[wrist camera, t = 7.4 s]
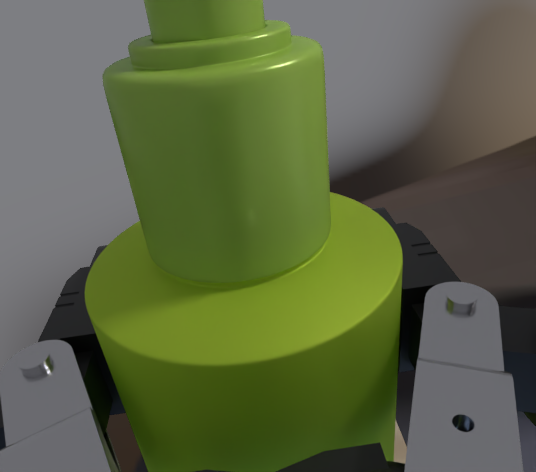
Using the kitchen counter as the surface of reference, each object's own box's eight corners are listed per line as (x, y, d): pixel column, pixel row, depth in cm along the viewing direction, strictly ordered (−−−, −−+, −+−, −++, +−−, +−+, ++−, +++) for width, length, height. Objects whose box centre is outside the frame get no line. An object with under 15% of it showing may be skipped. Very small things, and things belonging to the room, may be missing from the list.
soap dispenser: (345, 459, 19) (323, -180, 9) (417, 679, 13) (582, -468, 3) (202, 489, 19) (14, -151, 9) (209, 731, 13) (-361, -419, 3)
